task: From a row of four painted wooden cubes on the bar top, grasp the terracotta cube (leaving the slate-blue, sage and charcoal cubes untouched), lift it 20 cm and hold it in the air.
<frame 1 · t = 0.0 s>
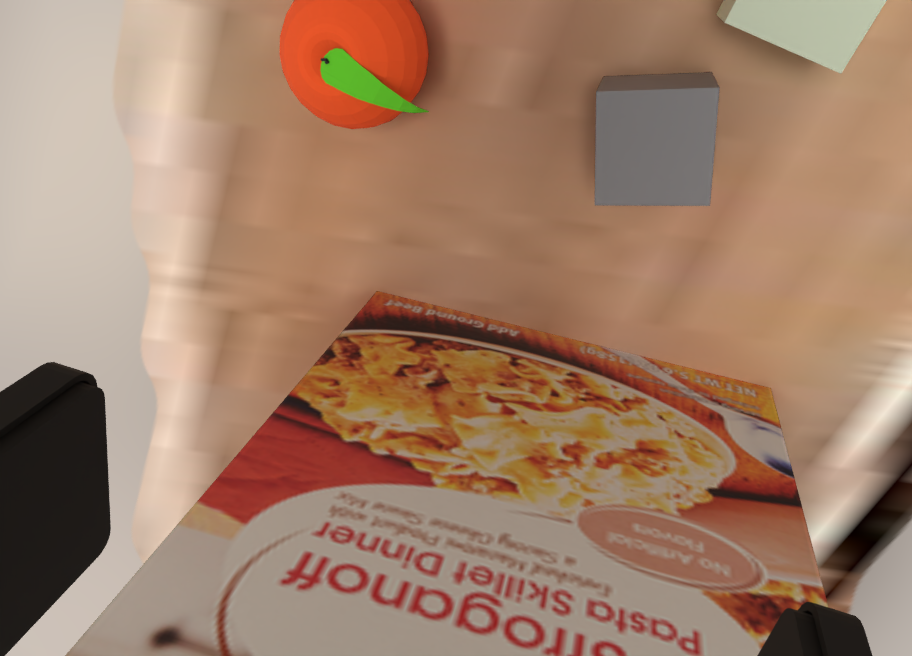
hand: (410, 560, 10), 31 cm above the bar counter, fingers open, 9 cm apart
charcoal block: (654, 127, 37), on the bar counter
clementine: (388, 51, 38), on the bar counter
pasta box: (552, 394, 45), on the bar counter
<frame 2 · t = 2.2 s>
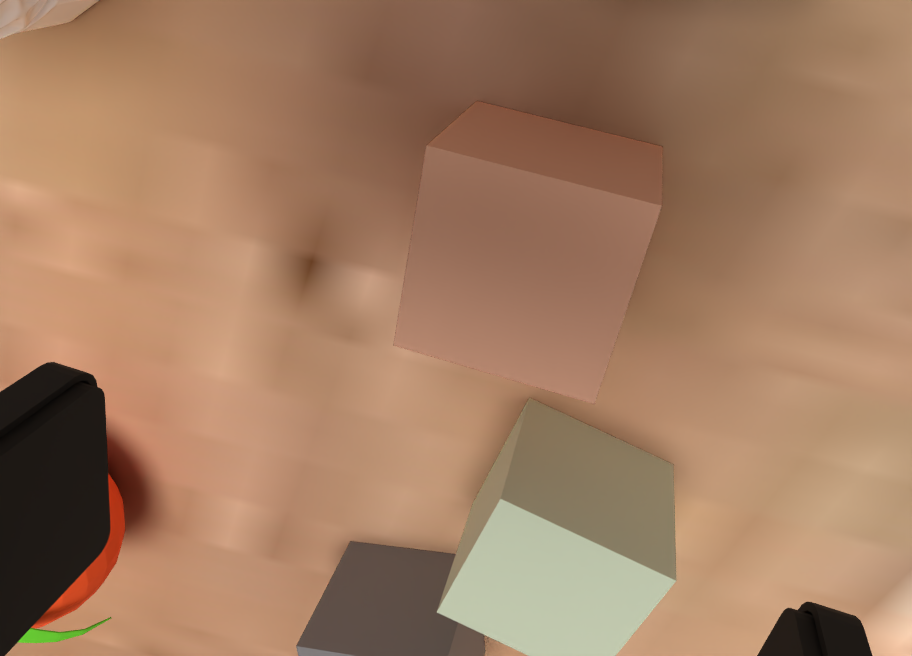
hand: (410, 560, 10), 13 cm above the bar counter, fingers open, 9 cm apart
charcoal block: (419, 595, 29), on the bar counter
clementine: (99, 477, 31), on the bar counter
sage block: (568, 483, 25), on the bar counter
terracotta block: (545, 210, 21), on the bar counter
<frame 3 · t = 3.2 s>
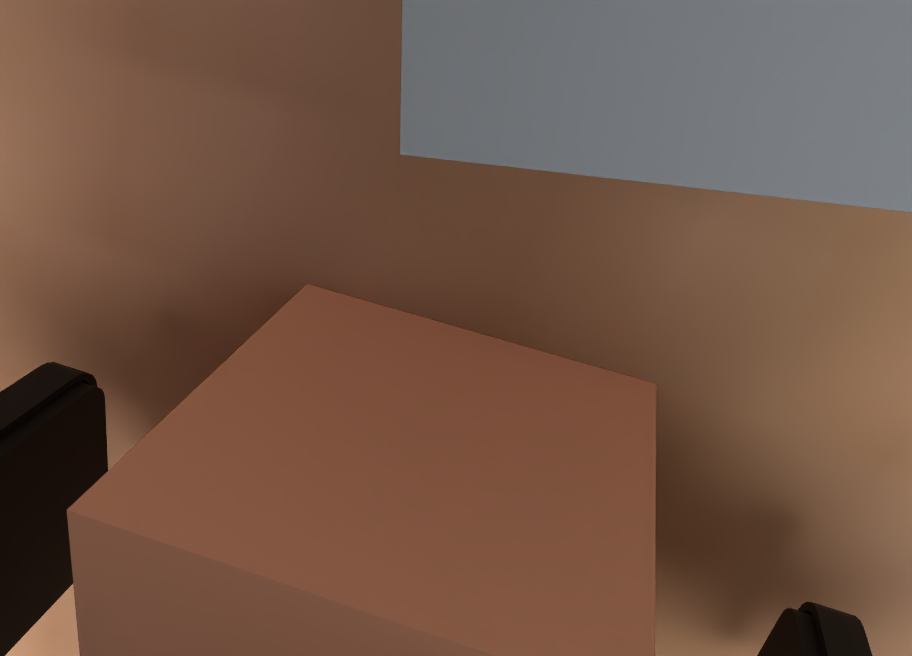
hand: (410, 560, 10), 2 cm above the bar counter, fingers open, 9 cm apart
terracotta block: (445, 468, 11), on the bar counter
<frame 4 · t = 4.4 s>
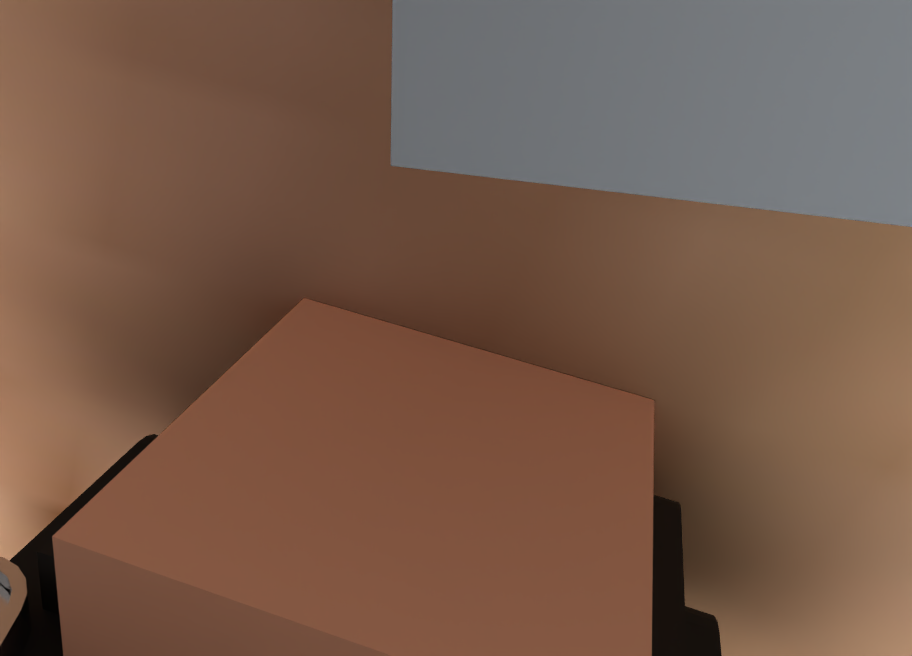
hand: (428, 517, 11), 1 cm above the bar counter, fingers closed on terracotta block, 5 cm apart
terracotta block: (441, 486, 11), on the bar counter, touching gripper
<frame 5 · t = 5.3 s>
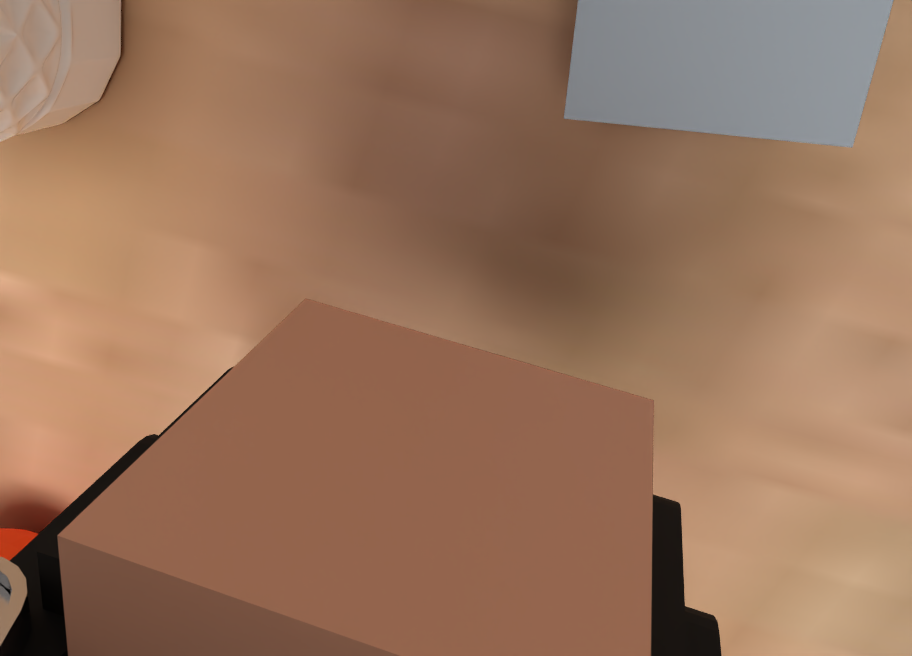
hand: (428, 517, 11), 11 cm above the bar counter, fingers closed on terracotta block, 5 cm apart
clementine: (71, 567, 30), on the bar counter
white cup: (24, 0, 21), on the bar counter
terracotta block: (441, 486, 11), point 10 cm above the bar counter, touching gripper
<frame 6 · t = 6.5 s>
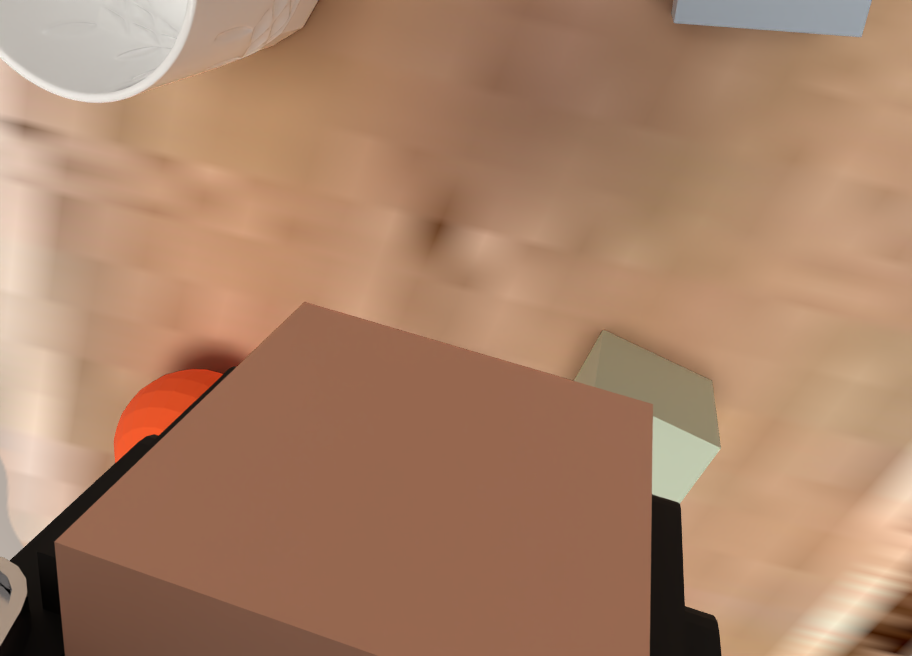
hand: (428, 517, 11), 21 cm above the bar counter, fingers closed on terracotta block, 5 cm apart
clementine: (242, 408, 38), on the bar counter
sage block: (629, 399, 32), on the bar counter
terracotta block: (440, 489, 11), point 20 cm above the bar counter, touching gripper
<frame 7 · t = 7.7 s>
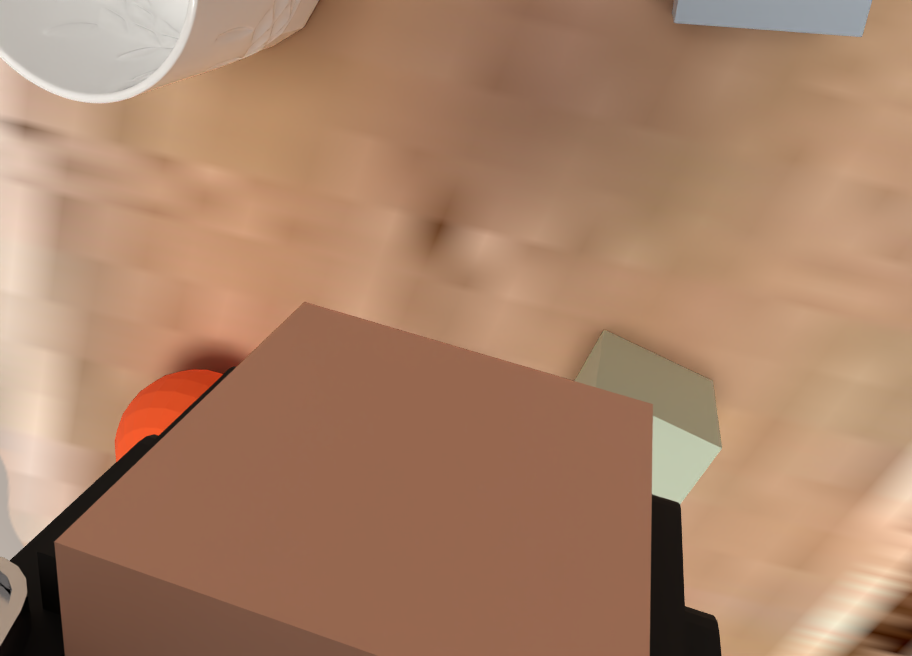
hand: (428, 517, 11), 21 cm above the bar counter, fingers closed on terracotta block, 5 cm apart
clementine: (243, 408, 38), on the bar counter
sage block: (630, 399, 32), on the bar counter
terracotta block: (440, 489, 11), point 20 cm above the bar counter, touching gripper
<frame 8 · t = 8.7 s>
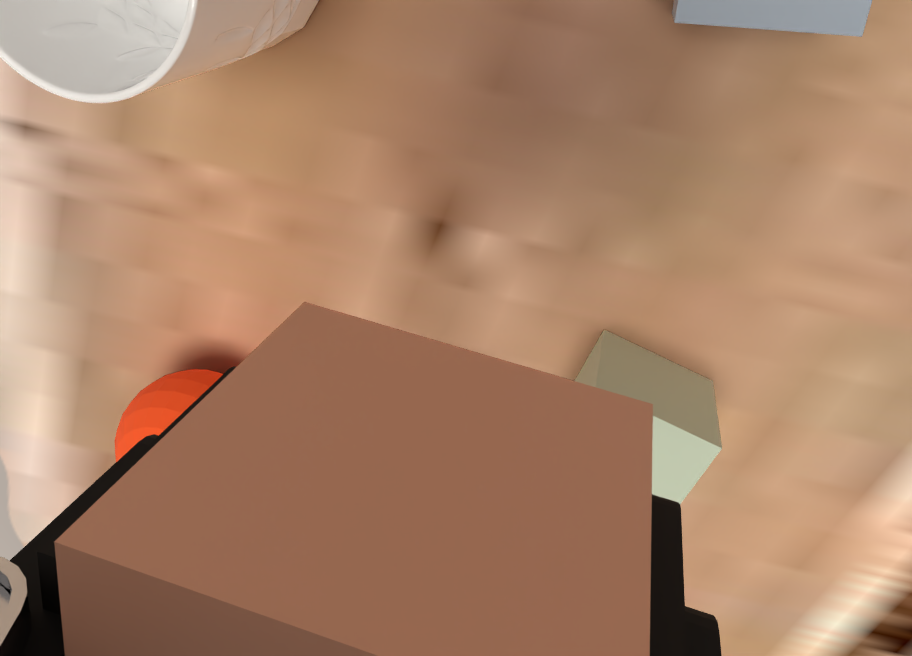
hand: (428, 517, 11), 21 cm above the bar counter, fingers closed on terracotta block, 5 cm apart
clementine: (243, 408, 38), on the bar counter
sage block: (630, 399, 32), on the bar counter
terracotta block: (440, 489, 11), point 20 cm above the bar counter, touching gripper
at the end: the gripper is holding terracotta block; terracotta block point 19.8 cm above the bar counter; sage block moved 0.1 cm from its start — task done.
